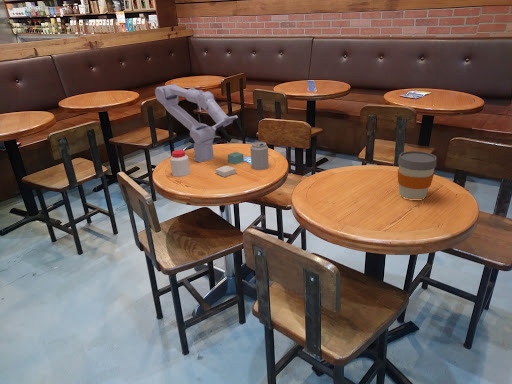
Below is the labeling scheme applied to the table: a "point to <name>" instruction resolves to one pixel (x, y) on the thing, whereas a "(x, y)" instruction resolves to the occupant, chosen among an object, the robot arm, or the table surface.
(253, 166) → the can
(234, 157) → the cube
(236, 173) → the bottom tile
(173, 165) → the pill bottle
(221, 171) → the top tile
